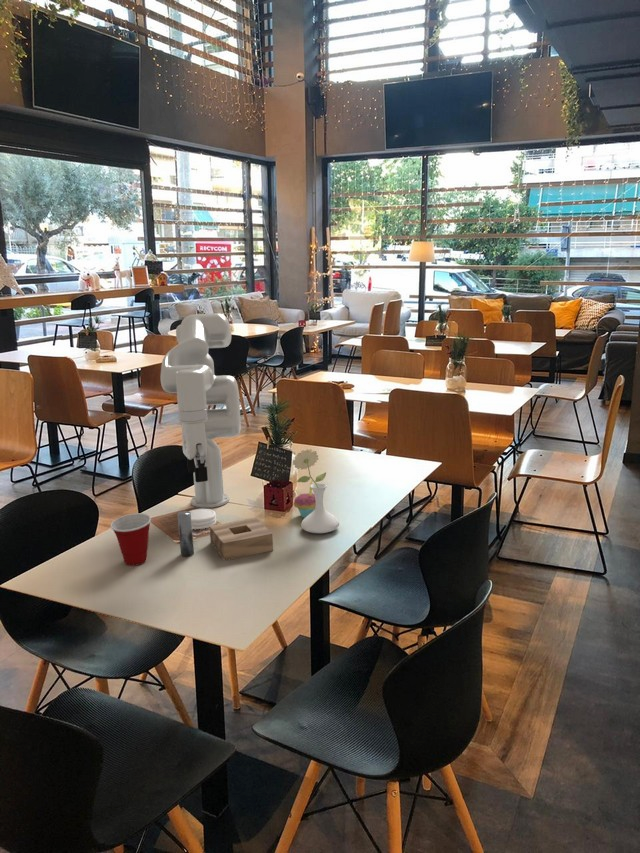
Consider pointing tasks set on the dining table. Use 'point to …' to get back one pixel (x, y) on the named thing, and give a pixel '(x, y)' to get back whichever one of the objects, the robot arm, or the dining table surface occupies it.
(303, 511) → the cupcake
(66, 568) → the dining table surface
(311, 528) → the flower in vase
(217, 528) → the socket block
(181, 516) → the steel pin
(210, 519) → the white round disc stack
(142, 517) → the plastic cup
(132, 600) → the dining table surface
